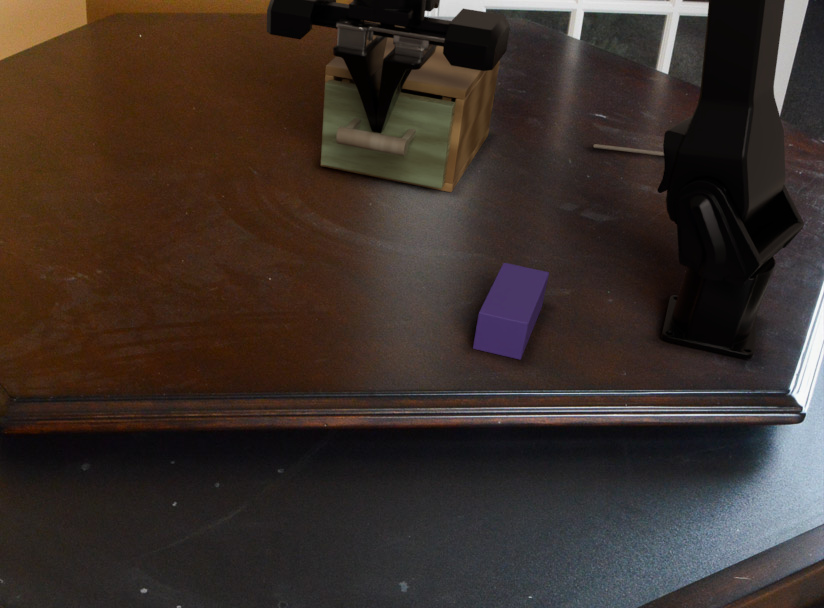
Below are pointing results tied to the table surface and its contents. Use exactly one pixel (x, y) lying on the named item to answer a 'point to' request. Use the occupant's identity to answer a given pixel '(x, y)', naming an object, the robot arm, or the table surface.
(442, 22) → the robot arm
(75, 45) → the table surface
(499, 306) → the purple rectangular prism
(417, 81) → the cabinet
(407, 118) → the drawer
